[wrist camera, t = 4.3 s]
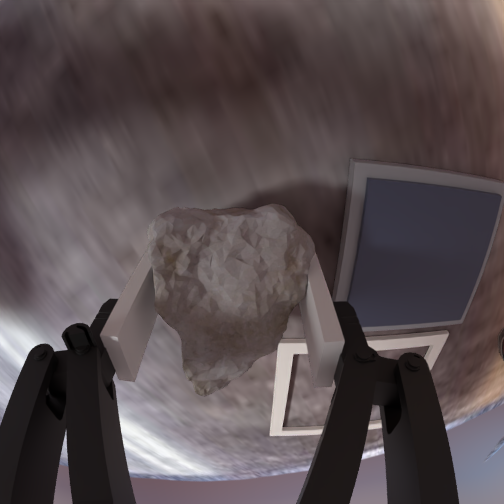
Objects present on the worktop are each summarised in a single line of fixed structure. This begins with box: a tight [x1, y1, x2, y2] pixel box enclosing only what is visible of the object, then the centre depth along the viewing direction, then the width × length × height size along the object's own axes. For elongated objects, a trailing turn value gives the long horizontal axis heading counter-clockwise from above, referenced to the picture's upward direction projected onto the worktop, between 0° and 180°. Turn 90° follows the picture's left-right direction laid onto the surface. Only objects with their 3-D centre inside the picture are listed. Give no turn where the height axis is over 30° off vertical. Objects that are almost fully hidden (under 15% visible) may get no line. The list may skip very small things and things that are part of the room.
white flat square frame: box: [270, 330, 449, 436], centre depth 26 cm, size 15×15×1 cm
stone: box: [147, 204, 315, 397], centre depth 15 cm, size 10×8×6 cm
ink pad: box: [332, 159, 504, 332], centre depth 19 cm, size 12×12×1 cm
